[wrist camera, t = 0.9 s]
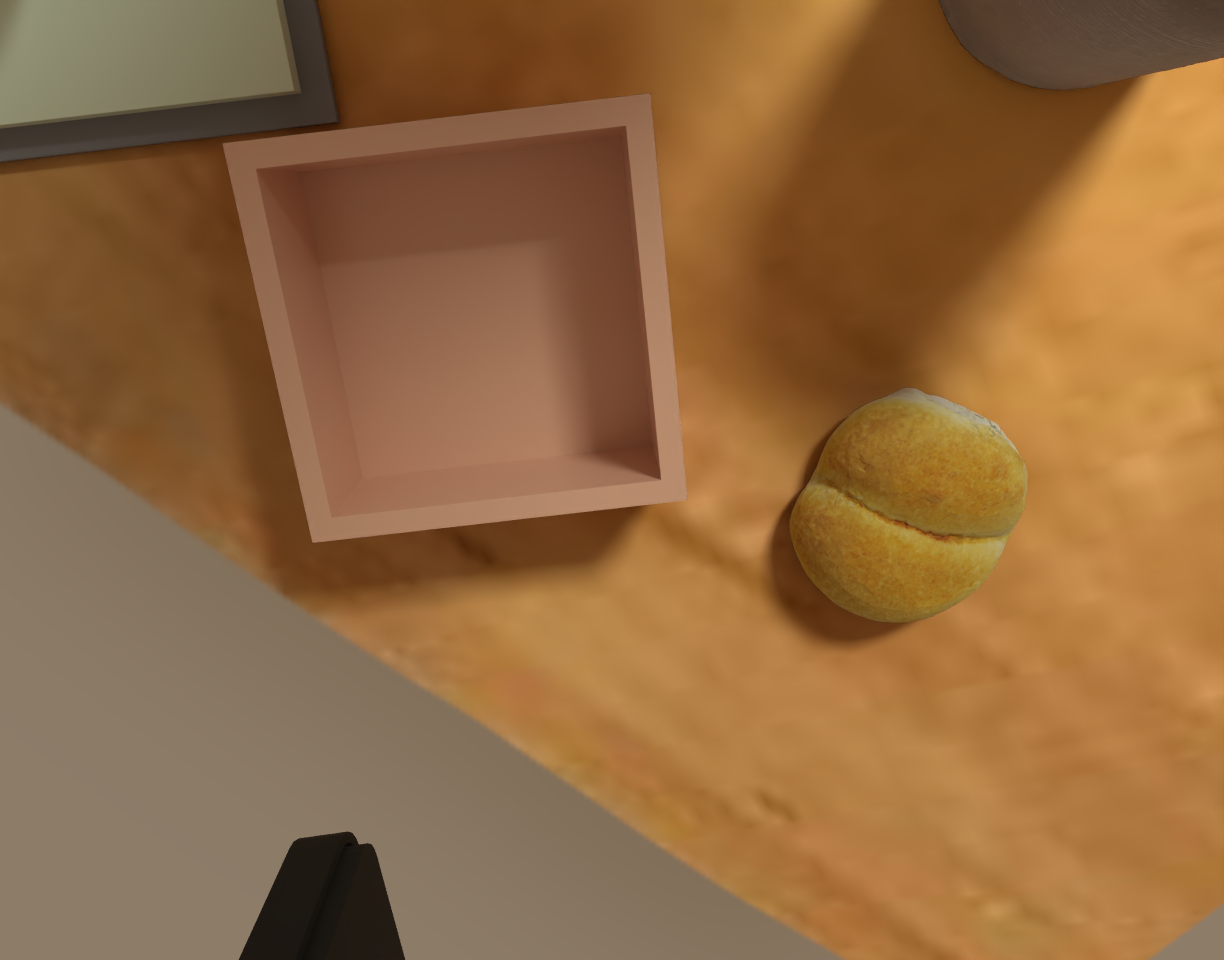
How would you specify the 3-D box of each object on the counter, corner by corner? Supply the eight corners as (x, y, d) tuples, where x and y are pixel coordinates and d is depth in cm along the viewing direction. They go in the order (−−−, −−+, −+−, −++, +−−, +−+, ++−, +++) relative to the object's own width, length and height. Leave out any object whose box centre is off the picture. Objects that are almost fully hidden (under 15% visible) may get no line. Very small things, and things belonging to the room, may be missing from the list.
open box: (278, 152, 31) (222, 143, 26) (640, 109, 31) (650, 93, 26) (350, 496, 35) (312, 542, 30) (673, 458, 35) (687, 500, 30)
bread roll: (757, 564, 37) (776, 607, 33) (856, 360, 34) (890, 380, 30) (936, 632, 38) (975, 681, 34) (1044, 439, 35) (1099, 468, 31)
